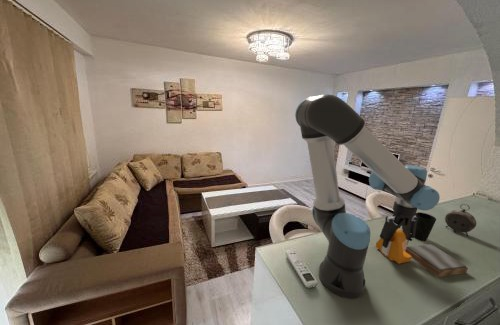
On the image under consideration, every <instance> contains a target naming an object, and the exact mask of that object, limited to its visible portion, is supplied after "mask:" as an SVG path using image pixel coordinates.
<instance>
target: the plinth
mask: <svg viewBox="0 0 500 325" xmlns="http://www.w3.org/2000/svg"><path fill="white" fill-rule="evenodd" d="M405 252H407V253H408V254H410V255H411V256H412V257H411V259H412V260H414V261H415V262H416V263H418V264H419V265H421V266H422V267H423V268H425V269H426V270H427V271H429V272H430V274H432V275H434V276H435V277H436V278H440V277H447V276H455V275H461V274H467V272H468V269H469V268H468V267H467V266H466V264H464V263H463V262H461V261H459V260H458V259H455V258H454V257H453V256H451V255H449V254H447V253H446V252H444V251H443V250H441V249H439V248H438V247H437V246H435V245H434V244H421V245H420V244H419V245H410V246H407V247H406V251H405Z"/></svg>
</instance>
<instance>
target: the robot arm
mask: <svg viewBox="0 0 500 325" xmlns="http://www.w3.org/2000/svg"><path fill="white" fill-rule="evenodd" d="M294 114H295V121H296V124H297V125H298V126H299V127H300V133H301V134H300V135H301V138H302V139H303V140H304V141H305V142H306V143H307V149H308V156H309V160H310V161H309V162H310V167H311V173H312V178H313V185H314V191H315V197H316V198H315V199H314V200H313V206H312V209H311V215H312V218H313V221H314V222H315V224H316V225H317V226H318V228H319V229H320V230H321V232H322V233H323V235H324V236H325V238H326V239H327V241H328V245H327V253H326V255H325V257H323V258H324V259H323V261H322V262H320V264H319V268H318V277H319V280H320V281H321V283H322V285H323V286H324V287H325V288H326V289H328V290H329V291H330V292H332V293H334V294H335V295H337V296H340V297H343V298H346V299H356V298H359V297H361V296H362V295H363V294H364V292H365V288H366V278H365V273H364V264H365V261H366V256H367V253H368V249H369V245H370V242H371V228H370V226H369V224H368V223H367V222H366V221H365V219H362V218H360V216H359V217H358V216H356V215H354V214H352V213H347V212H346V211H347V210H346V209H347V208H346V202H345V199H344V198H342V197H341V196H340V190H339V182H338V174H337V168H336V167H337V166H336V159H335V152H334V151H335V150H334V144H333V142H335V143H336V144H337V145H339V146H344V147H345V148H346V149H347V150H349V151H350V152H351V153H352V154H353V155H354V156H355V157H356V158H358V160H360V162H361V163H363V164H364V165H365V166H366V167H367V168H368V169H369V170H370V171H371V173H370V174H369V177H368V182H369V185H370V187H371V189H372V190H376V191H385V192H387V193H389V194H390V195H393V197H394V203H393V206H392V212H393V214H392V215H391V216H387V215H386V216H385V220H384V224H383V227H382V230H381V232H380V234H379V239H380V238H382V239H383V244H382V246H383V247H382V252H383V253H384V254H385V255H386V256H387V255H388V254H389V250H390V246H391V241H390V240H391V239H392V237H393V235H394V233H395V232H396V231H397V229H400V228H401V231H403V232H404V234H405V236H406V240H405V241H404V242H402V247H403V251H406V247H408V245H409V241H410V242H412V241H413V239H415V238H414V237H415V231H416V224H417V221H418V219H419V218H418V217H416V216H415V215H416V213H417V211H418V210H420V211H430V210H432V209H434V208H435V207H436V206H437V205H438V204H439V201H440V198H441V196H440V193H439V192H438V191H437V190H436V189H435V188H432V187H431V186H429V185H426V181H427V175H428V170H427V169H426V168H424V167H422V166H417V165H411V164H407V165H405V164H403V163H402V162H401V161H400V160H399V159H398V158H397V157H396V156H395V155H394V154H393V153H392V152H391V151H390V150H389V149H388V148H387V147H386V146H385V145H384V144H383V143H382V142H381V141H380V140H379V139H378V138H377V137H376V135H374V134H373V133H372V132H371V131H370V130H369V129H368V128H367V127H366V120H365V119H364V118H363V117H362V116H360V114H359V113H357V112H356V110H354V108H353V107H351V106H350V105H349V104H348V103H347V102H345V101H344V100H343V99H342V98H340V97H338V96H336V95H333V94H328V93H327V94H320V95H315V96H311V95H310V96H309V97H307V98H304V99H303V100H302V101H301V102H299V104H298V105H297V108H296V109H295V113H294ZM384 254H383V255H384ZM385 255H384V256H385ZM386 256H385V257H386Z"/></svg>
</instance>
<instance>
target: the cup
mask: <svg viewBox="0 0 500 325" xmlns="http://www.w3.org/2000/svg"><path fill="white" fill-rule="evenodd" d="M415 216H416V217H418V218H419V219H418V221H417V224H416V231H415V237H414V238H413V239H415V240H417V241H420V242H427V240H428V238H429V236H430V234H431V232H432V230H433V228H434V225H435V223H436V221H437V218H436V217H435V216H433V215H432V214H429V213H425V212H419V211H418V212H416V215H415Z"/></svg>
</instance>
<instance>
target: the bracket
mask: <svg viewBox="0 0 500 325" xmlns="http://www.w3.org/2000/svg"><path fill="white" fill-rule="evenodd" d="M405 240H406V236H405V234H404V232H403V231H402V229H400V228H398V229H397V231H396V232H395V233H394V235H393V237H392V239H391V240H390V241H391V246H390V250H389V254H388V255H387V256H386V255H385V254H384V253H383V252H382V247H383V246H382V244H383V239H382V238H380V237H379V239H378V240H377V241H376V243H375V247H376V248H377V249H378V250H379V252H380V253H381V254H382V255H383V256H385V257H386V258H388V259H389V260H390V261H392V262H393V261H395V262H396V264H398V265H399V264H403V263H407V262H410V261H411V260H412V258H411V257H412V256H411V255H410V254H408V253H407V252H405V251H403V247H402V242H404V241H405Z"/></svg>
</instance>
